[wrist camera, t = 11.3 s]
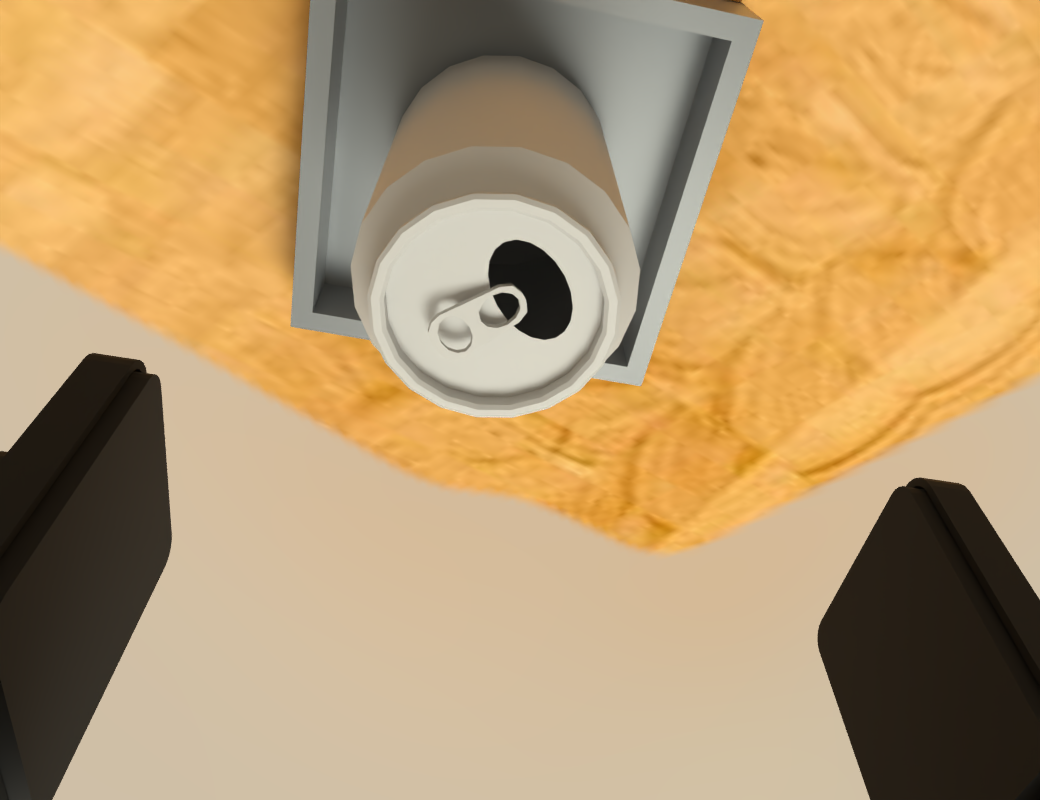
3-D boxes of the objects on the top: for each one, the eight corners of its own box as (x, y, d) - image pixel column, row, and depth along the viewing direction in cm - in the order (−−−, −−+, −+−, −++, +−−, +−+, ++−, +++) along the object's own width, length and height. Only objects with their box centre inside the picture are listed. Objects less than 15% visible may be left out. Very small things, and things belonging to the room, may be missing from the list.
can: (636, 204, 32) (692, 379, 22) (458, 284, 34) (434, 480, 24) (551, 7, 28) (572, 110, 18) (356, 109, 30) (276, 254, 20)
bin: (741, 3, 28) (763, 20, 26) (632, 346, 36) (640, 386, 33) (333, -90, 27) (314, -80, 24) (307, 289, 34) (290, 326, 32)
